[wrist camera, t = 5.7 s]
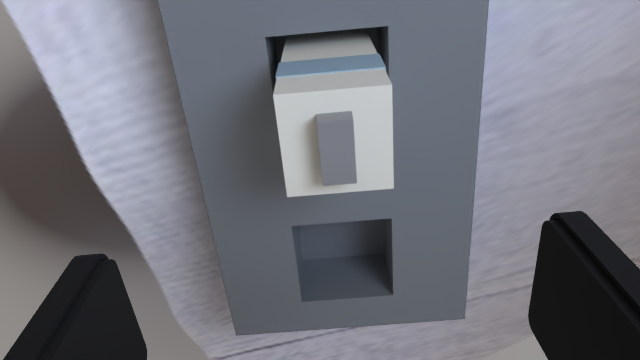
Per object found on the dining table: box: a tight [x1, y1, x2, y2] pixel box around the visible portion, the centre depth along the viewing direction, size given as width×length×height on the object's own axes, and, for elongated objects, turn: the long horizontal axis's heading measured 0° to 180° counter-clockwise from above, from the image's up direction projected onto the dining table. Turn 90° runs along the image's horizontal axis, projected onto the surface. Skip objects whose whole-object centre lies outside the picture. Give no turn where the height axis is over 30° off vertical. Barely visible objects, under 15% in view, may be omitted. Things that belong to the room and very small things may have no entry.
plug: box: [273, 28, 394, 197], centre depth 21 cm, size 4×4×11 cm
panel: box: [158, 0, 489, 335], centre depth 25 cm, size 14×28×4 cm, turn 5°
